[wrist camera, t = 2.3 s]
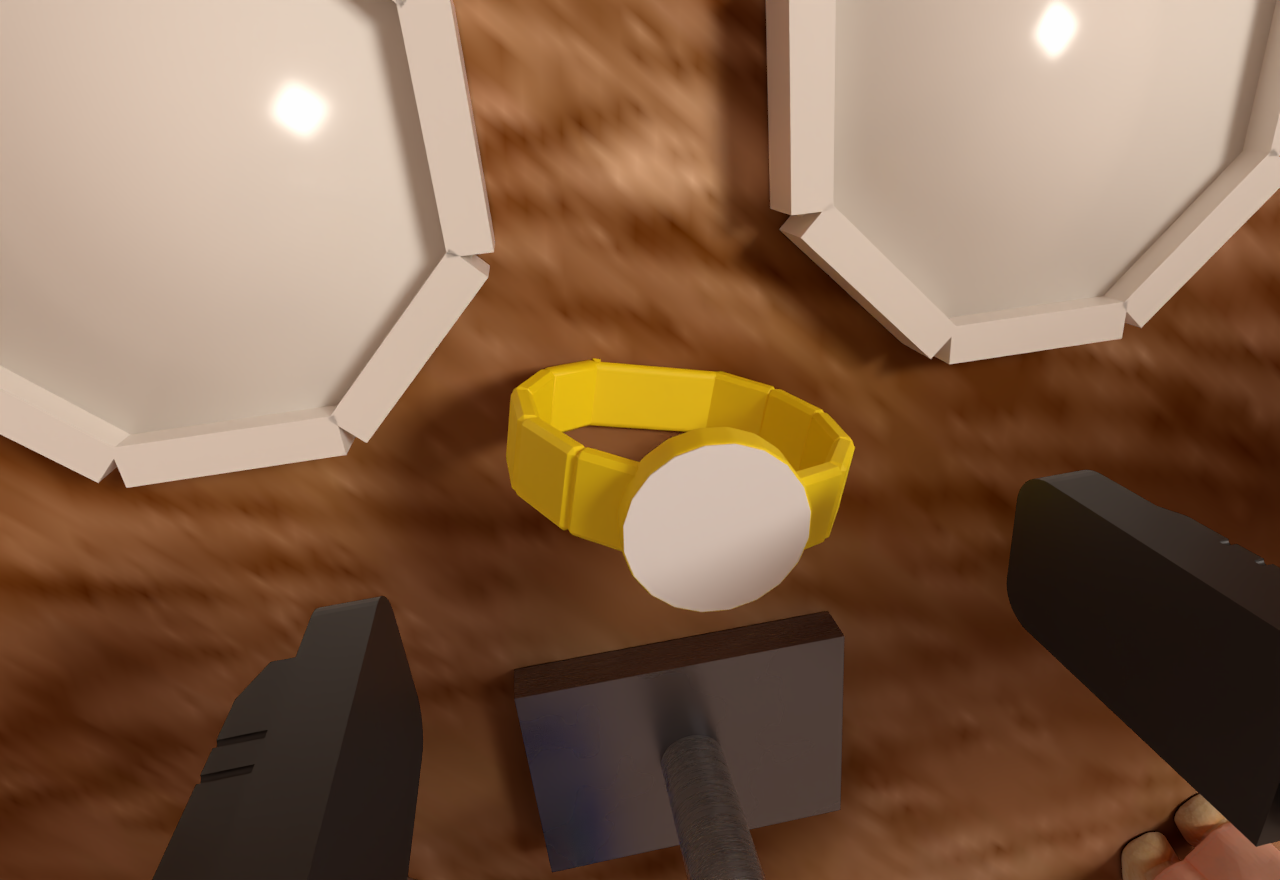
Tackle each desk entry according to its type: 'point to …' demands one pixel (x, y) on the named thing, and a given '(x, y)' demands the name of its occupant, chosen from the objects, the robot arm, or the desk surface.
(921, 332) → the dish upper pan side
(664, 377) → the watch
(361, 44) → the dish lower pan side
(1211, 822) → the grandmother figurine
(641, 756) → the balance
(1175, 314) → the desk surface
